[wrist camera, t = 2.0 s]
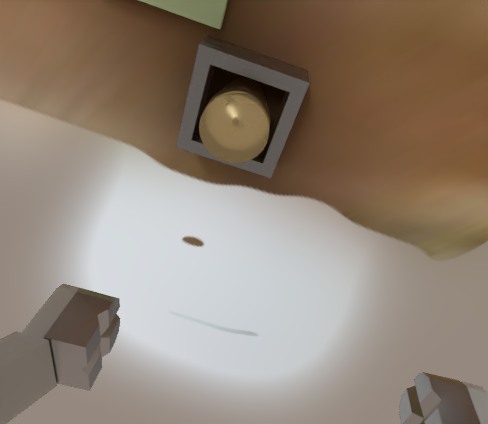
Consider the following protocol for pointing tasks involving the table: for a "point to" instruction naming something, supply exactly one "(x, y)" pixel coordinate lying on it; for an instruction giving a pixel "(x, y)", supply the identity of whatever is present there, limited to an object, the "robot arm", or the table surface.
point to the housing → (253, 68)
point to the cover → (236, 122)
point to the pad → (195, 9)
